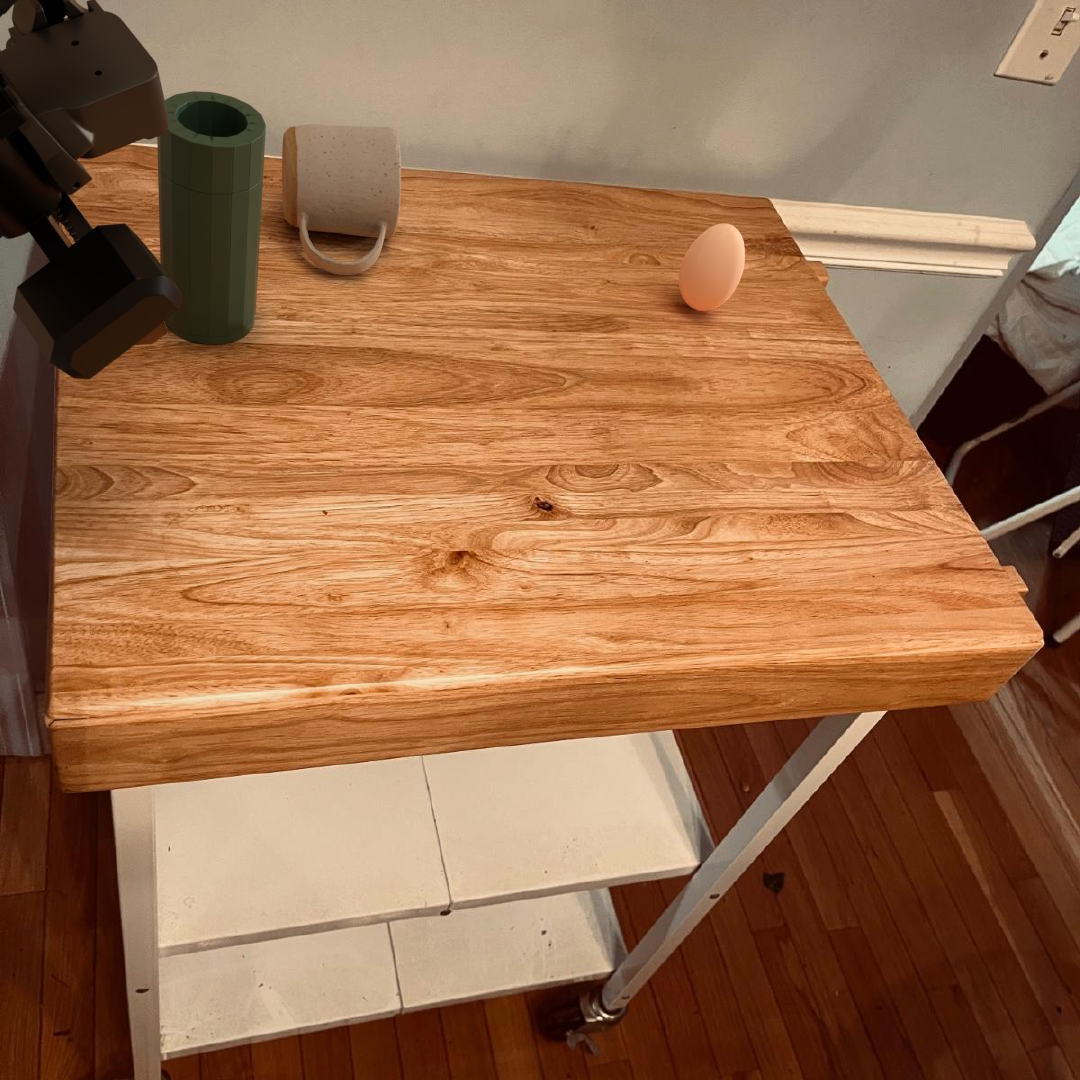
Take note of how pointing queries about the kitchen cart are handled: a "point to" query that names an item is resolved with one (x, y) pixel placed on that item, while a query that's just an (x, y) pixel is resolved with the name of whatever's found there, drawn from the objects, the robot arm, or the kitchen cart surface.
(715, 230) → the egg
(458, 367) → the kitchen cart surface
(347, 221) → the ceramic mug
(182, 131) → the hollow cylinder
